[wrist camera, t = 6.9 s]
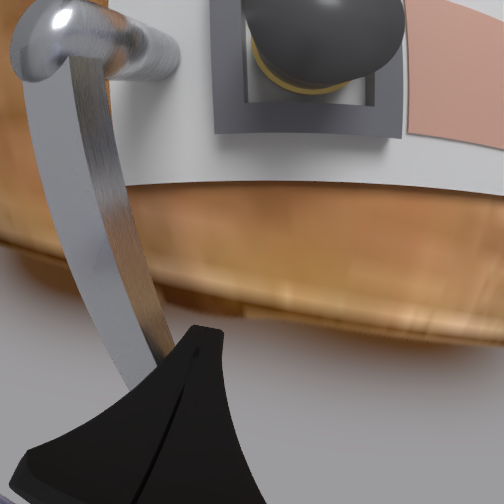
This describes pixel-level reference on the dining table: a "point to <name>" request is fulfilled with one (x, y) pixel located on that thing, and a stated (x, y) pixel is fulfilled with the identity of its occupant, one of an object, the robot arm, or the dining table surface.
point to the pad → (455, 72)
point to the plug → (323, 40)
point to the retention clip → (94, 162)
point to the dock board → (277, 115)
